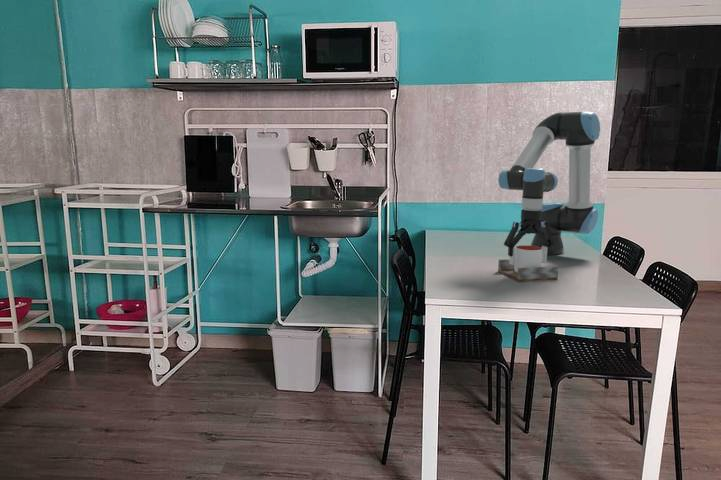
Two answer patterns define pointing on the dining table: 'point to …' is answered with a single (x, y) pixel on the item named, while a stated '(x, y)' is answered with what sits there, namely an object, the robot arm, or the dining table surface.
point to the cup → (527, 257)
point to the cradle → (528, 272)
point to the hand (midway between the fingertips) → (527, 263)
